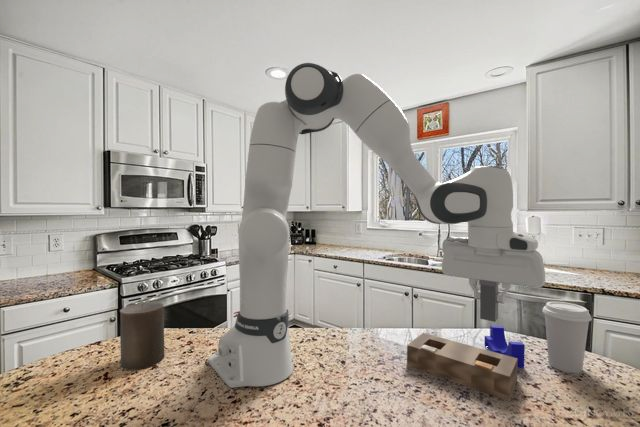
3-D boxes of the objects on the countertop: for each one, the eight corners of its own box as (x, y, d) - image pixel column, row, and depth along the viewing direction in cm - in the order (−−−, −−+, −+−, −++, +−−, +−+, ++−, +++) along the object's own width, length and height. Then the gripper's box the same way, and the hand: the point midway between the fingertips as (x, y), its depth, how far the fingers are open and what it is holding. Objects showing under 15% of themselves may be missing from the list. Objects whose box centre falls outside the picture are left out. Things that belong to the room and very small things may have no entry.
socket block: (406, 364, 77) (407, 343, 77) (422, 350, 84) (423, 331, 84) (509, 401, 62) (509, 375, 62) (517, 380, 70) (517, 357, 70)
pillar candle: (168, 362, 78) (168, 302, 78) (122, 374, 72) (122, 310, 71) (159, 348, 85) (159, 294, 85) (117, 359, 79) (117, 301, 79)
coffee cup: (533, 362, 78) (534, 303, 78) (553, 354, 83) (554, 298, 82) (578, 381, 70) (579, 315, 70) (598, 370, 74) (599, 309, 74)
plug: (478, 318, 69) (479, 278, 69) (482, 314, 72) (482, 276, 72) (496, 322, 67) (496, 281, 67) (499, 318, 70) (499, 278, 69)
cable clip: (484, 346, 88) (484, 325, 88) (501, 347, 87) (501, 326, 87) (504, 367, 76) (505, 343, 76) (524, 369, 75) (524, 344, 75)
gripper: (437, 237, 73) (437, 295, 74) (543, 243, 60) (543, 314, 60) (446, 235, 78) (446, 289, 78) (546, 240, 65) (545, 306, 65)
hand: (489, 300), depth 69 cm, fingers closed on plug, 3 cm apart
